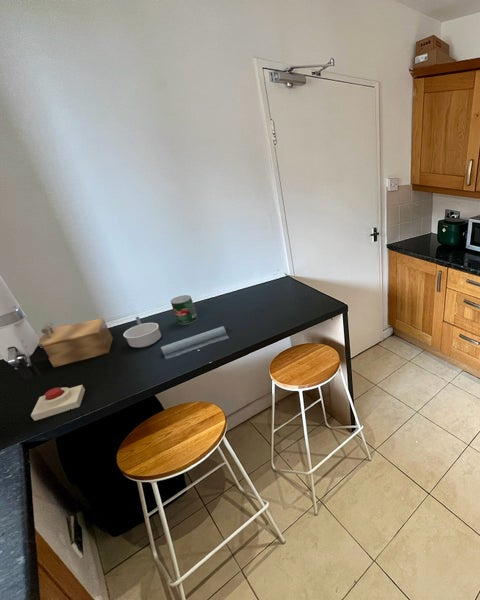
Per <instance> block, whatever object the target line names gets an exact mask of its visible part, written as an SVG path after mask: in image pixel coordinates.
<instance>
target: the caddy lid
mask: <svg viewBox="0 0 480 600" xmlns="http://www.w3.org/2000/svg"><path fill="white" fill-rule="evenodd" d="M103 321H105V319H104V318H103V317H102V318H98V319H92V320H86V321H82V322H77V323H73V324H66V325H62V326H58V327H57V326H56V327H53V325H54V324H53V323H52V322H46V323H45V324H44V326H43V327H42V329H41V330H40V332H41V333H42V335H41V338H39V343H41V344H42V346H45V345H50V344H55V343H59V342H64V341H69V340H73V339H78V338H82V337H87V336H92V335H96V334H99V332H100V329H101V326H102V323H103Z"/></svg>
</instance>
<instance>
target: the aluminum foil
mask: <svg viewBox="0 0 480 600" xmlns="http://www.w3.org/2000/svg"><path fill="white" fill-rule="evenodd" d="M227 339H230V337H229V336H228V334H227V330H226V328H225V326H224V325H222V326H219V327H216V328H214V329H211V330H207V331H204V332H202V333H199V334H195V335H192V336H189V337H186V338H184V339H181V340H178V341H175V342H172V343H168V344H165V345H163V346H161V347H160V350H161V353H162V355H163V356H164V358H165V360H169V359H171V358H175V357H179V356H181V355H183V354H186V353H189V352H191V351H194V350H197V349H198V350H199V349H201V348H203V347H206V346H208V345H210V344H214V343H216V342H221V341H224V340H227Z"/></svg>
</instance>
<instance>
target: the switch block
mask: <svg viewBox="0 0 480 600" xmlns="http://www.w3.org/2000/svg"><path fill="white" fill-rule="evenodd" d="M60 388H61V389H62V391H63V392H64V393H63V394H62V395H61V396H59V397H57V398H55V399H52V400H48V399H47V398H46V396H45V394H44V395H42V396H39V397H38V400H37V402H36V404H35V406H34V408H33V410H32V412H31V414H30V417H31V418H32V420H33V421H38V420H42V419H45V418H48V417H51V416H55V415H57V414H61V413H64V412H67V411H71V410H74V409H76V408H77V409H78V408H80V407H81V405H82V401H83V397H84V395H85V391H86V389H85V387H84V385H83V384H80V385H76V386H73V387H70V388H69V387H67V386H66V387H60ZM70 409H71V410H70Z"/></svg>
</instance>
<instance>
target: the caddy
mask: <svg viewBox="0 0 480 600" xmlns="http://www.w3.org/2000/svg"><path fill="white" fill-rule="evenodd" d="M113 340H114V338H113V335H112V333H111V331H110V329H109V327H108V325H107V323H106V321H105V320H104V321H103V323H102V326H101V329H100V332H99V334H96V335H92V336H87V337H82V338H78V339H73V340H69V341H64V342H59V343H55V344H50V345H45V346H42V347H43V348H44V349H45V351H46V353H47V354H48V356H49V359H48V360H49V363H51V366H52V367H53V368H56V367H60V366H64V365H69V364H72V363H76V362H80V361H84V360H87V359H91V358H95V357H98V356H102V355H107V354H109V353H110V350H111V346H112V343H113ZM42 347H41V348H42Z"/></svg>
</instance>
